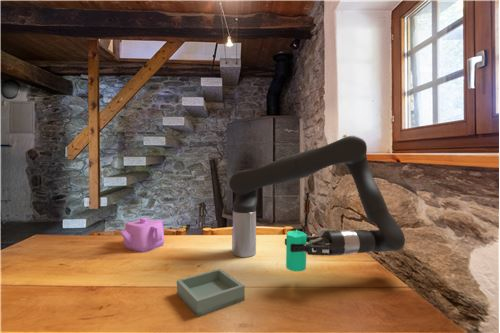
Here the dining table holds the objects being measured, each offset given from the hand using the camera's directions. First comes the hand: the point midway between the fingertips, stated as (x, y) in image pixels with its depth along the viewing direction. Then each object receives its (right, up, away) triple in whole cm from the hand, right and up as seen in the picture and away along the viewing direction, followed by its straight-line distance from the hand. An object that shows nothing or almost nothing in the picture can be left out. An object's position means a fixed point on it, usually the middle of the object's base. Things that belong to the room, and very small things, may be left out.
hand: (288, 245), depth 86 cm
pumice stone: (+21, -11, +32) cm, 39 cm away
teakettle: (-58, -11, +38) cm, 70 cm away
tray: (-23, -13, -6) cm, 27 cm away
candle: (+2, -7, +1) cm, 8 cm away
